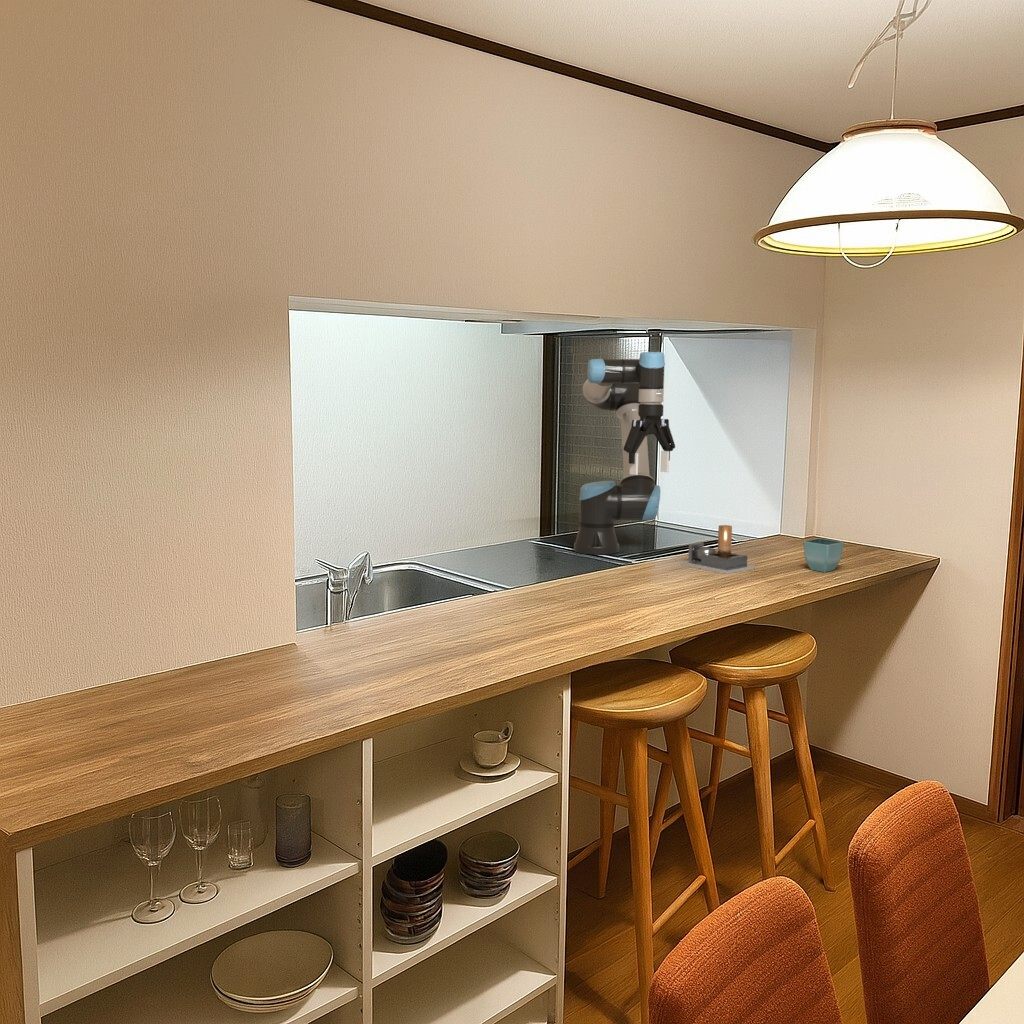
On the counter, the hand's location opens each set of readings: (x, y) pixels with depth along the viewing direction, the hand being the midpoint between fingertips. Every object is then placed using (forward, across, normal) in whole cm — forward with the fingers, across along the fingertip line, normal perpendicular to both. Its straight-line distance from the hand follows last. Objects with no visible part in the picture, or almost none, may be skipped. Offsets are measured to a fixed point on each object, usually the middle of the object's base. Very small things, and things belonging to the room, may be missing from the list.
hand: (649, 473), depth 299 cm
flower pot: (+29, +37, -38) cm, 60 cm away
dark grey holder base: (+29, +16, -14) cm, 36 cm away
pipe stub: (+28, +16, -17) cm, 36 cm away
